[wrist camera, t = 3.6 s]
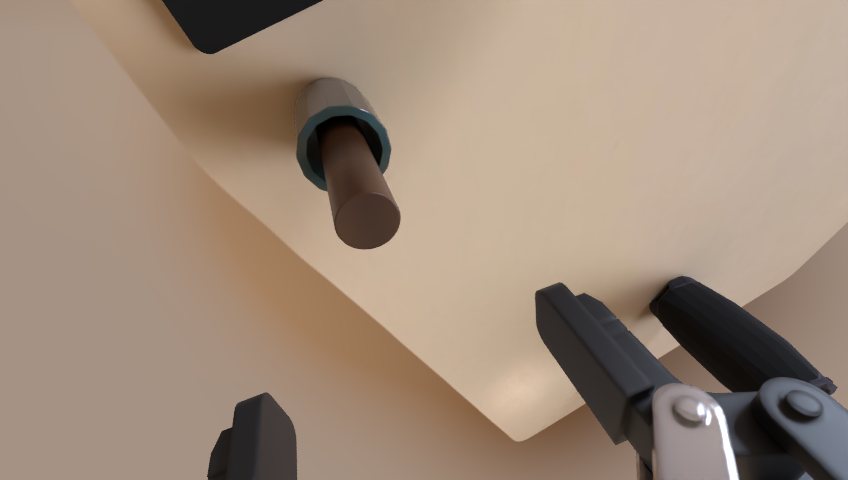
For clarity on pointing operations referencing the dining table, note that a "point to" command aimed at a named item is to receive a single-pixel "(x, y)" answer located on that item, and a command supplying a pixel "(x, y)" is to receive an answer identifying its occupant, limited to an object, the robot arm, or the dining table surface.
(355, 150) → the stirring stick
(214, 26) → the smartphone
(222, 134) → the dining table surface
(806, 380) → the portable speaker
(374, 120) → the holder
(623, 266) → the dining table surface
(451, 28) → the dining table surface
